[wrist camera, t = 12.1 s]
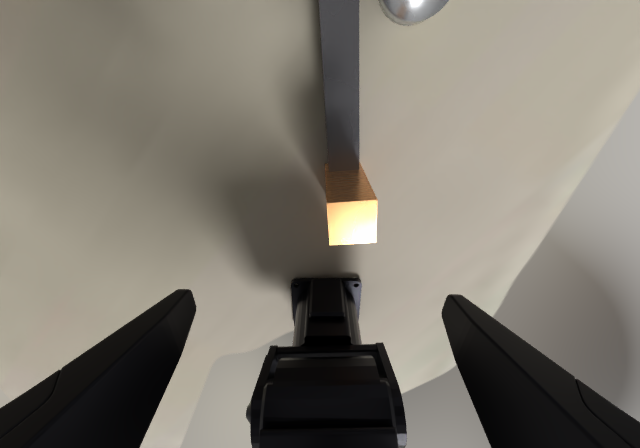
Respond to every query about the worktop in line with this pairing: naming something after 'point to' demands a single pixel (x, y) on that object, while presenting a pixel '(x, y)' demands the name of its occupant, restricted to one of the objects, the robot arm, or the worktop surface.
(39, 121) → the worktop surface
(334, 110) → the hook tool
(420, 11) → the puck
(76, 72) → the worktop surface
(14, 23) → the worktop surface
